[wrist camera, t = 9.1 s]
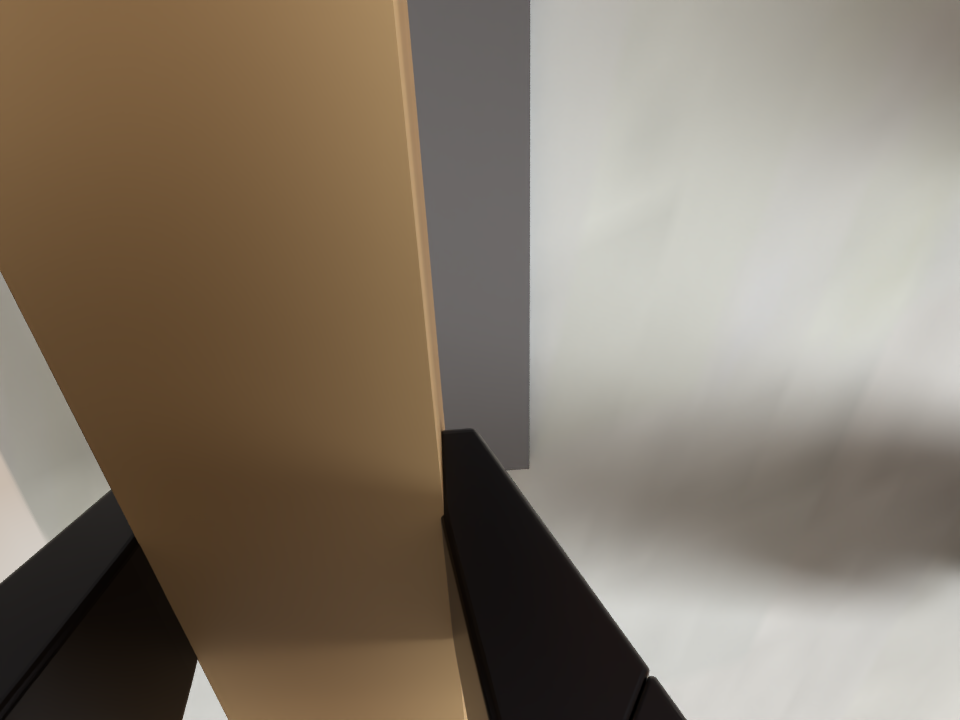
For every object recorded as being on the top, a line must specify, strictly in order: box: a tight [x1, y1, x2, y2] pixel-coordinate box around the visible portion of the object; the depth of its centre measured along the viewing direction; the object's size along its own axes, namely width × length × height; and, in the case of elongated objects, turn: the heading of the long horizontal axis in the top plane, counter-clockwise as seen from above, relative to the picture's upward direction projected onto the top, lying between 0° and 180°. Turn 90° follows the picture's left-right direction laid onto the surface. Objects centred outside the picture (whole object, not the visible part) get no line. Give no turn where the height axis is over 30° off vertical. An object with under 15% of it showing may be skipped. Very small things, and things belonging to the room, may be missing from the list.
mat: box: [407, 0, 530, 470], centre depth 16 cm, size 8×24×1 cm, turn 2°
